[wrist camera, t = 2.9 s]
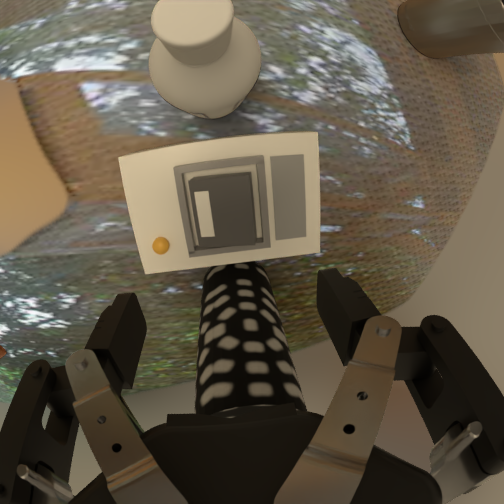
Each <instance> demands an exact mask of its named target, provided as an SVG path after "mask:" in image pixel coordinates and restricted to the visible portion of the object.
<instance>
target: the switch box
mask: <svg viewBox="0 0 504 504" xmlns="http://www.w3.org/2000/svg"><path fill="white" fill-rule="evenodd" d="M118 158H119V164H120V170H121V175H122V181H123V186H124V191H125V196H126V200H127V205H128V209H129V214H130V218H131V222H132V226H133V231H134V235H135V238H136V242H137V246H138V250H139V253H140V257H141V261H142V264H143V268H144V271H145V274H151V273H159V272H167V271H176V270H184V269H192V268H201V267H209V266H217V265H225V264H233V263H241V262H249V261H257V260H265V259H273V258H280V257H288V256H296V255H303V254H311V253H319V252H320V173H319V148H318V132H311V131H286V132H269V133H256V134H245V135H235V136H226V137H218V138H210V139H203V140H196V141H190V142H184V143H178V144H172V145H166V146H161V147H156V148H151V149H146V150H141V151H137V152H133V153H130V154H127V155H124V156H121V157H118ZM240 172H251V175H252V186H253V197H254V208H255V219H256V230H257V241H256V245H248V246H221V247H199V244H198V238H197V233H196V227H195V221H194V215H193V209H192V203H191V197H190V190H189V184H188V181H189V180H190V179H192V178H193V177H198V176H207V175H217V174H228V173H240Z"/></svg>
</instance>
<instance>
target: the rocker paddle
mask: <svg viewBox="0 0 504 504" xmlns="http://www.w3.org/2000/svg"><path fill="white" fill-rule="evenodd" d="M188 184H189V190H190V197H191V203H192V209H193V215H194V221H195V227H196V233H197V238H198V244H199V247H221V246H248V245H256V241H257V230H256V219H255V208H254V197H253V186H252V175H251V172H240V173H228V174H217V175H207V176H198V177H193V178H192V179H190V180H189V181H188Z"/></svg>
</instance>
